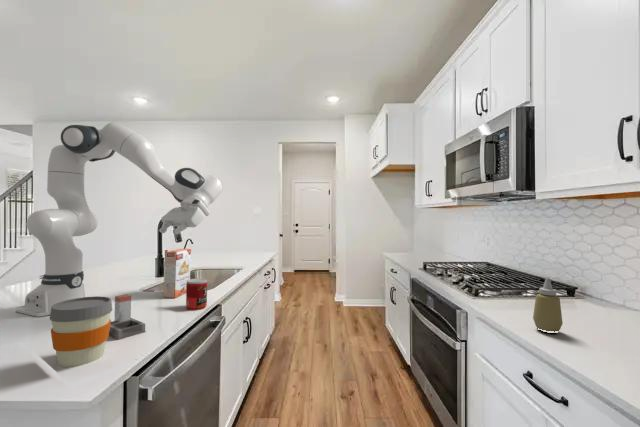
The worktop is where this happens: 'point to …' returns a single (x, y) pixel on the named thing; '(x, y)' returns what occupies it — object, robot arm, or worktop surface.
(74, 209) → the robot arm
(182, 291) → the cracker box
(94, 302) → the reusable coffee cup
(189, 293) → the canned food
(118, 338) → the square open tray
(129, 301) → the steel peg
